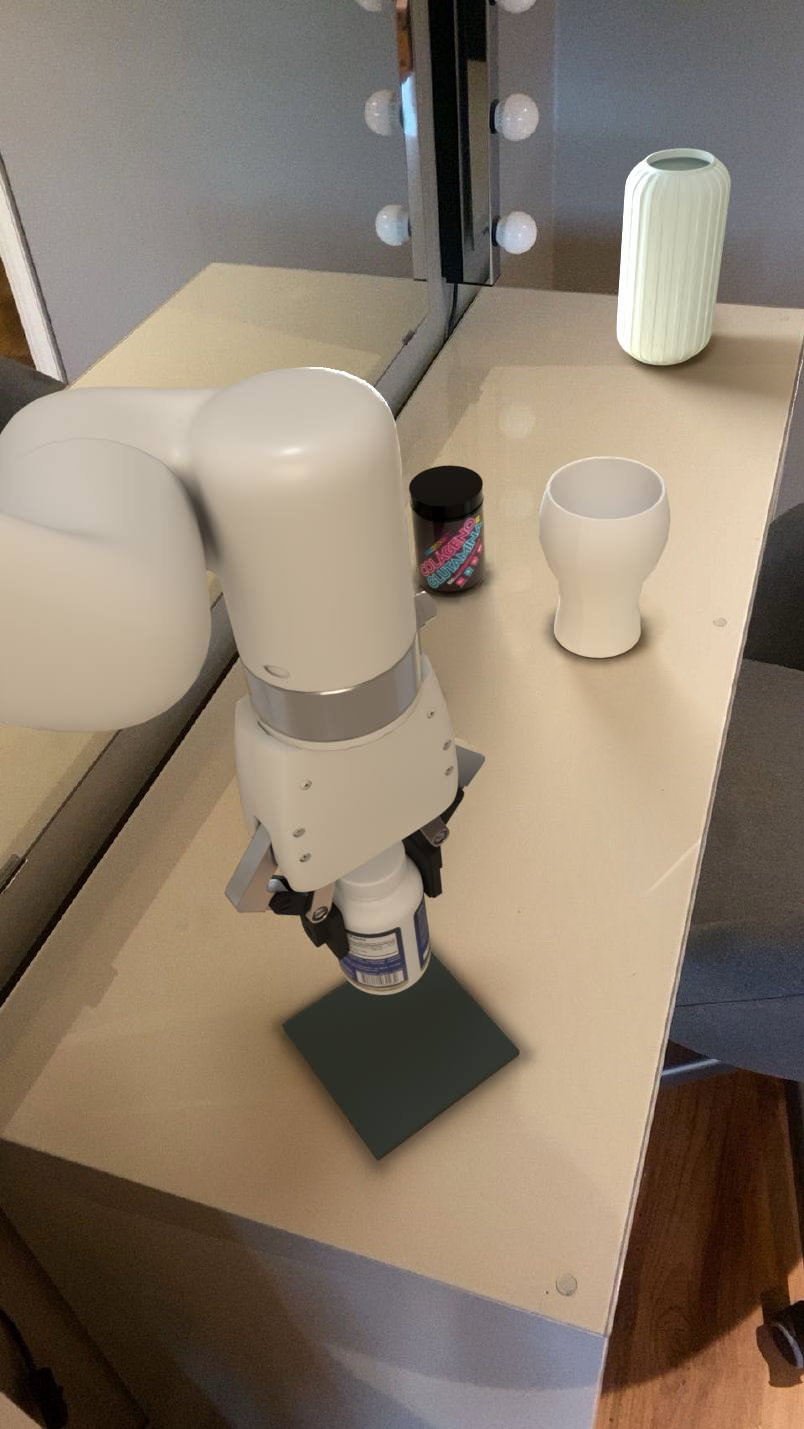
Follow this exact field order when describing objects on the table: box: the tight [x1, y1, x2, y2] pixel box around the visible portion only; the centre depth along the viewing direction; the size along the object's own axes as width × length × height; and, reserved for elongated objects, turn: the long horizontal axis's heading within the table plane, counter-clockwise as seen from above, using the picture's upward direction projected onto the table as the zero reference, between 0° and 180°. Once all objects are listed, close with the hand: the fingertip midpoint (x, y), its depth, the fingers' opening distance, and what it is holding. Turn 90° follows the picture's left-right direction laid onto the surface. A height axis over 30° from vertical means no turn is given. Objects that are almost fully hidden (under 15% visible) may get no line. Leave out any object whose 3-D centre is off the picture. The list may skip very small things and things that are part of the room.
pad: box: [281, 951, 520, 1161], centre depth 67 cm, size 11×11×1 cm
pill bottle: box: [332, 841, 432, 995], centre depth 57 cm, size 5×5×10 cm
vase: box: [616, 147, 732, 366], centre depth 124 cm, size 12×12×22 cm
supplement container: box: [408, 464, 487, 597], centre depth 98 cm, size 7×7×10 cm
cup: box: [538, 455, 671, 659], centre depth 89 cm, size 11×11×15 cm
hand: (375, 907), depth 57 cm, fingers closed on pill bottle, 5 cm apart
